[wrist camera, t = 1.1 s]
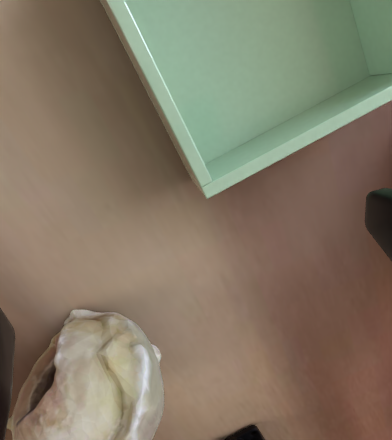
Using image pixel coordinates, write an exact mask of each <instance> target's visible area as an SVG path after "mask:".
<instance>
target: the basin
mask: <svg viewBox="0 0 392 440" xmlns="http://www.w3.org/2000/svg"><path fill="white" fill-rule="evenodd" d="M100 2H101V4H102V6H103V8H104V9H105V11H106V13H107V15H108V17H109V19H110V21H111V23H112V25H113V27H114V29H115V31H116V33H117V35H118V37H119V39H120V41H121V43H122V45H123V47H124V49H125V51H126V52H127V54H128V56H129V58H130V60H131V62H132V64H133V66H134V68H135V70H136V72H137V74H138V76H139V78H140V80H141V82H142V84H143V86H144V88H145V90H146V92H147V94H148V95H149V97H150V99H151V101H152V103H153V105H154V107H155V109H156V111H157V113H158V115H159V117H160V119H161V121H162V123H163V125H164V127H165V129H166V131H167V133H168V135H169V137H170V138H171V140H172V142H173V144H174V146H175V148H176V150H177V152H178V154H179V156H180V158H181V160H182V162H183V164H184V166H185V168H186V170H187V172H188V174H189V176H190V178H191V180H192V181H193V182H194V183H195V185H196V186H197V187H198V188H199V190H200V191H201V192H202V193H203V195H204V196H205V197H206V198H207V199H208V198H210V197H212V196H214V195H216V194H218V193H219V192H221V191H223V190H225V189H227V188H229V187H231V186H232V185H234V184H236V183H238V182H240V181H242V180H244V179H245V178H247V177H249V176H251V175H253V174H255V173H257V172H259V171H260V170H262V169H264V168H266V167H268V166H270V165H272V164H273V163H275V162H277V161H279V160H281V159H283V158H285V157H286V156H288V155H290V154H292V153H294V152H296V151H298V150H300V149H301V148H303V147H305V146H307V145H309V144H311V143H313V142H314V141H316V140H318V139H320V138H322V137H324V136H326V135H327V134H329V133H331V132H333V131H335V130H337V129H339V128H341V127H342V126H344V125H346V124H348V123H350V122H352V121H354V120H355V119H357V118H359V117H361V116H363V115H365V114H367V113H368V112H370V111H372V110H374V109H376V108H378V107H380V106H382V105H383V104H385V103H387V102H389V101H391V100H392V0H100Z"/></svg>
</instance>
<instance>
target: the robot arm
mask: <svg viewBox="0 0 392 440" xmlns="http://www.w3.org/2000/svg"><path fill="white" fill-rule="evenodd" d="M365 225H366V228H367V230H368V231H369V233H370V234H371V235H372V237H373V238H374V239H375V240H376V242H377V243H378V244H379V246H380V247H381V248H382V249H383V251H384V252H385V253H386V255H387V256H388V257H389V258H390V260H391V261H392V189H389V188H382V189H379V190H375V191H372V192H370V193H369V194H368V195H367V197H366V210H365ZM14 349H15V332H14V329H13V327H12V325H11V323H10V322H9V320H8V319H7V317H6V316H5V314H4V313H3V311H2V310H1V308H0V440H5V434H6V429H7V423H8V417H9V411H10V405H11V396H12V383H13V366H14ZM225 440H265V439H264V437H263V436H262V434H261V432H260V431H259V429H258V427H257V426H255V425H251V426H249V427H247V428H245V429H243V430H242V431H240V432H238V433H236V434H234V435H232V436H231V437H229V438H227V439H225Z"/></svg>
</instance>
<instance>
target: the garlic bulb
mask: <svg viewBox="0 0 392 440" xmlns="http://www.w3.org/2000/svg"><path fill="white" fill-rule="evenodd" d="M160 359H161V354H160V351H159V349H158V348H157V347H156V346H155V345H151V343H150V341H149V340H148V338H147V336H146V335H145V334H144V332H143V331H142V330H141V329H140V328H139V326H138V325H137V324H136V323H134V322H133V321H131V320H130V319H128V318H126V317H124V316H122V315H121V314H119V313H117V312H106V313H99V312H93V311H89V310H72V311H71V313H70V316H69V317H68V318H67V319H66V320H65V322H64V327H63V328H62V330H61V331H60V332H59V333H58V334H56V335H55V336H54V337H53V338H52V340H51V344H50V346H49V348H48V349H47V350H46V351H45V352H44V353H43V354H42V355H41V356H40V358H39V359H38V360H37V362H36V363H35V365H34V366H33V368H32V371H31V373H30V375H29V377H28V378H27V380H26V381H25V383H24V385H23V386H22V388H21V390H20V393H19V396H18V400H17V403H16V405H15V408H14V412H13V415H12V417H11V418H9V420H8V423H7V428H8V429H10V430H12V436H13V440H152V439H153V437H154V435H155V433H156V430H157V428H158V425H159V423H160V420H161V417H162V414H163V409H164V387H163V380H162V375H161V370H160V366H159V363H160Z"/></svg>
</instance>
